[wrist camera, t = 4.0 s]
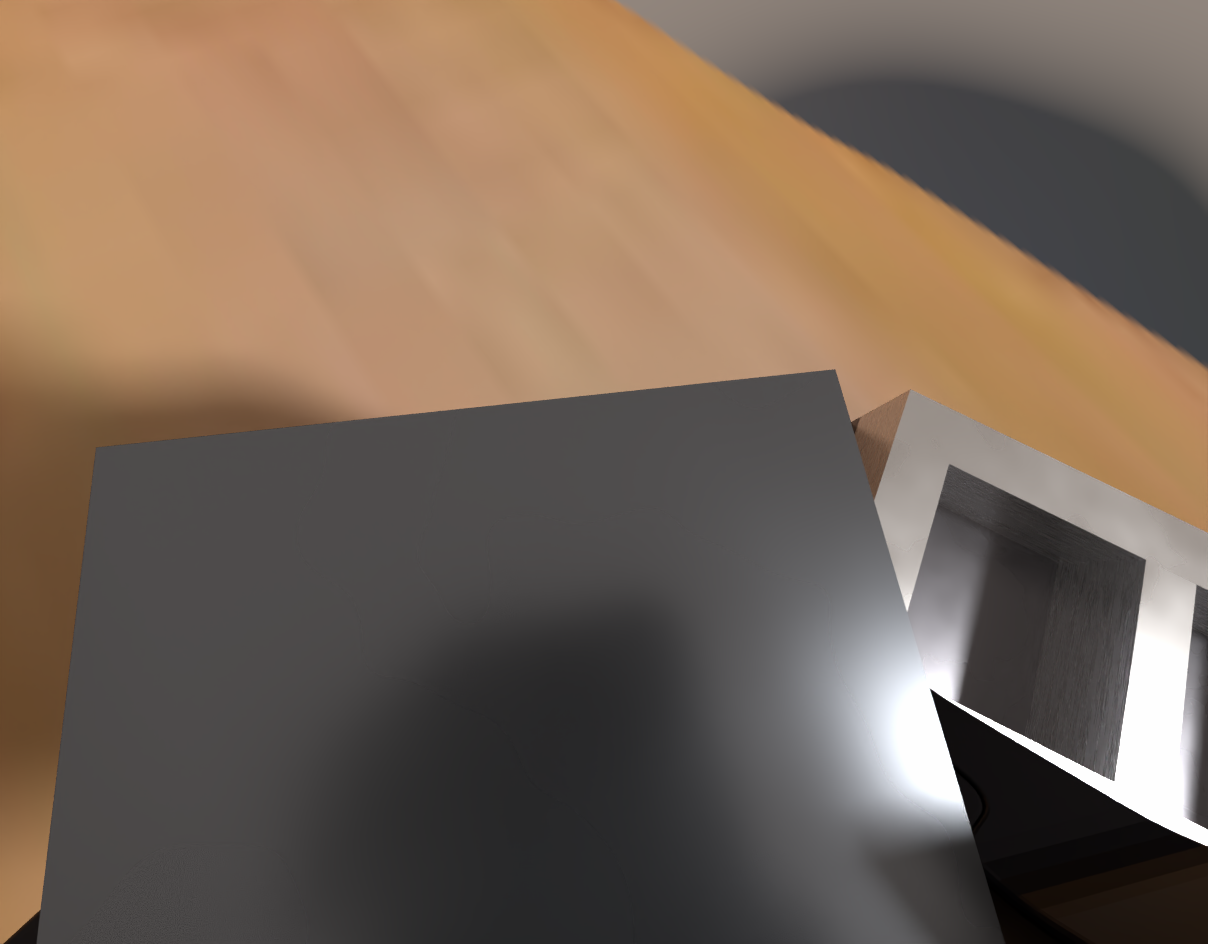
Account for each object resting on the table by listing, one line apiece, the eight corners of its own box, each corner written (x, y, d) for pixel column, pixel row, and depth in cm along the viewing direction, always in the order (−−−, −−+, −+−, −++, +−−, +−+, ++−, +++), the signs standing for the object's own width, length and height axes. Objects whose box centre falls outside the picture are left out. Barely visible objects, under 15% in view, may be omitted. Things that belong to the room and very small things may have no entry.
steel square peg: (651, 690, 14) (1104, 1278, 2) (490, 721, 13) (-56, 1742, 2) (625, 533, 15) (834, 370, 3) (476, 555, 14) (95, 446, 3)
